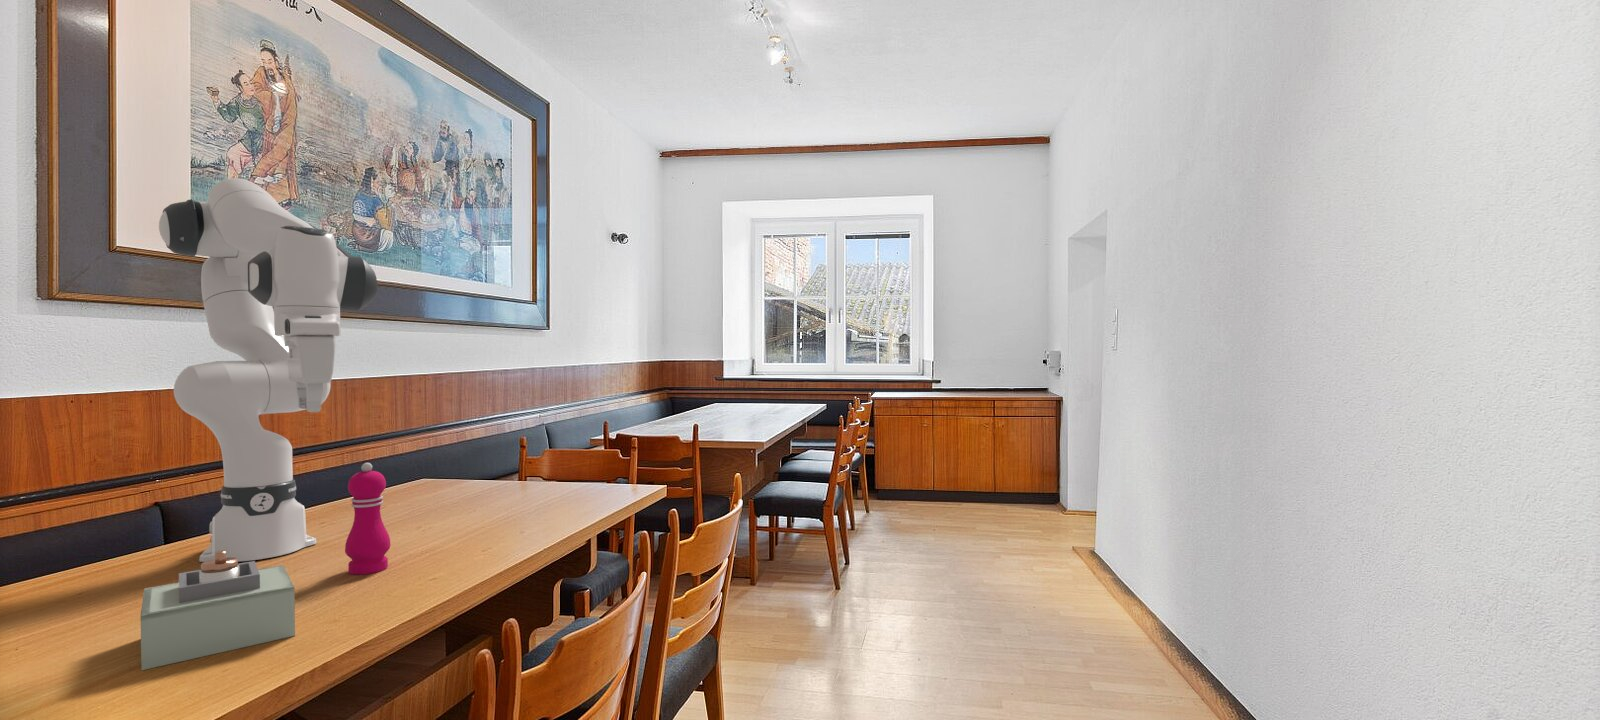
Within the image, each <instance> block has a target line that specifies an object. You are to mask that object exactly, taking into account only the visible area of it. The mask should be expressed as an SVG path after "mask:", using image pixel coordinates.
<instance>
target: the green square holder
mask: <svg viewBox="0 0 1600 720" xmlns="http://www.w3.org/2000/svg"><path fill="white" fill-rule="evenodd" d="M238 565H239V571H240V576H239V577H233V578H228V579H222V580H216V581H210V582H204V583H199V571H200V570H201V569H197V570H191V571H183V572H180V573H178V582H175V583H168V584H162V585H157V586H156V585H155V586H152V587H145V588H144V589H143V594H142V595H143V597H142V603H141V609H140V617H139V618H140V656H141V657H140V659H141V671H145V670H149V669H154V668H158V667H162V666H167V665H172V664H176V663H180V662H184V661H189V660H193V659H197V658H198V659H199V658H203V657H207V656H210V655H211V656H212V655H215V654H220V653H224V652H229V651H234V650H238V649H241V648H242V649H243V648H246V647H250V646H256V645H261V644H265V643H269V642H273V641H277V640H282V639H287V638H291V637H295V636H296V611H295V606H296V605H295V602H296V601H295V585H294V584H293V582H292V581H293V580H292V579H291V578H290V575H289V574H288V572H287V570H286V568H285V565H284V564H280V565H275V566H269V567H262V568H258V566H257V564H256V560H250V561H244V562H241V563H238Z"/></svg>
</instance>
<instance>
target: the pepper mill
mask: <svg viewBox="0 0 1600 720" xmlns="http://www.w3.org/2000/svg"><path fill="white" fill-rule="evenodd" d="M360 468H361V471H359V472H357V473H355V474H354V475H352V476H351V477H350V479H349V480H348V484H347V491H348V492H349V494H350V495H351V496H352V497H353V498H352V499H351V500H350V501H351V505H350V506H351V507H352V508H353V510H354V511H353V512H354V516H353V517H354V518H353V524H352V527H351V529H350V530H349V533H348V535H347V539H346V541H345V546H344V547H345V548H344V553H345V555H346V556H347V557H348V558H349V559H351V560H350V561H349V562H348V564H347V565H348V573H349V574H350V575H353V576H354V575H357V576H358V575H370V574H374V573H375V574H376V573H378V572H382V571H384V570H386V569H387V568H388V567H389V560H388V559H389V558H388V556H386V555H385V554H387V552H389V550H390V548H391V538H390V534H389V532H388V530H387V529H386V527H385V525H384V522H383V520H382V515H381V507H382V504H383V503H384V501H383V498H384V496H383V495H382V493H383V492H384V491H385V489H386V488H387V487H386V486H387V482H386V478H385V476H384V475H383V474H382V473H381V472H379V471H377V470H372V469H373V465H372V464H371V463H370V462H365V463H363V464H362V465H361V467H360Z"/></svg>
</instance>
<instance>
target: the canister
mask: <svg viewBox="0 0 1600 720" xmlns="http://www.w3.org/2000/svg"><path fill="white" fill-rule="evenodd" d="M238 564H239V563H238V559H237V558H235V557H226V551H218V552H215V559H212V560H208V561H205V562H201V563H200V569H199V570H200V571H199V583H204V582H210V581H216V580H222V579H228V578H233V577H239V576H240V571H239V565H238Z"/></svg>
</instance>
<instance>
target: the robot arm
mask: <svg viewBox="0 0 1600 720" xmlns="http://www.w3.org/2000/svg"><path fill="white" fill-rule="evenodd" d="M208 192H209V193H208V194H207V195H208V196H207V201H195V200H193V198H190V199H187V200H186V201H180V202H174V203H170V204H169V205H168V206H166V207H165V208H163V211H162V213H161V215H160V218H159V220H158V230H159V233H160V237H161V239H162V240H163V242H164V243H165V245H166V247H167V249H169V250H170V252H172V253H174V254H177V255H181V256H185V257H186V256H187V257H192V258H193V257H195V256H201V257H208V258H206V259H205V260H204V262H203V263H202V265H201V275H200V276H201V277H200V283H201V284H200V286H201V288H200V289H201V299H202V304H203V308H204V313H205V317H206V320H207V327H208V330H209V336H210V338H211V339H212V340H213V342H214V343H215V344H216V345H217V346H219V347H220V348H222V349H224V350H226V351H229V352H231V353H234V354H236V355H237V356H239V357H240V358H243V359H244V360H216V361H210V362H203V363H199V364H194V365H189V366H187V367H186V368H184V369H183V370H182V371H181V372H180V373H179V374H178V376H177V377H176V378H175V379H176V380H175V382H174V385H173V396H174V400H175V402H176V404H177V405H178V406H179V407H180V409H181V410H182V411H184V412H185V413H186V414H188V415H190V416H192V417H194V418H196V419H197V420H199V421H200V422H201V423H203V425H205V426H206V427H207V428H209V430H210V431H211V432H212V434H213V435H214V436H215V438H216V440H217V441H218V444H219V447H220V450H221V451H220V452H221V458H222V465H223V485H222V486H221V492H220V499H221V500H220V501H221V504H220V505H222V507H221V508H220V510H219V511H218V512H217V513H215V515H214V516H213V517H212V521H211V520H210V523H209V529H208V531H209V534H210V535H212V536H210V539H209V540H210V541H209V542H210V545H209V546H208V547H207V548H206V549H205V550H204V551H203V552H202V553H201V554H200V556H199V559H198V561H199V562H200V563H203V562H205V561H208V560H212V559H215V552H218V551H226V557H235V558H237V559H238V562H251V561H256V560H258V561H259V560H263V559H269V558H274V557H280V556H283V555H288V554H291V553H293V552H296V551H299V550H302V549H303V548H307V547H309V546H313V545H316V544H317V543H318V542H317V538H316V537H313V536H311V535H308V534H307V524H306V523H307V522H306V510H305V509H306V508H305V505H303V504H302V503H301V502H298V501H297V500H296V498H295V497H296V496H297V492H296V491H297V485H296V480H295V479H294V476H293V475H294V474H293V473H294V472H293V470H294V469H293V467H294V466H293V461H294V460H293V446H292V444H291V442H290V440H289V439H287V438H286V437H284V436H283V435H281V434H279V433H276V432H273V431H271V430H268V429H264V427H263V426H262V424H261V422H260V418H259V416H260V415H267V414H268V415H271V414H282V413H283V414H285V413H296V412H300V411H305V410H306V412H309V413H319V412H320V411H322V404H324V402H325V401H326V400H327V399H328V397H329V394H330V392H331V386H332V385H331V381H332V378H333V374H334V368H335V366H334V365H335V353H336V337H340V336H341V312H351V313H358V312H360V311H361V310H362V309H364V308H366V307H367V306H368V305H369V304H370V303H371V302H372V301H373V300H374V299H376V296H377V293H378V292H377V291H378V280H377V275H376V272H375V271H374V269H373V268H372V266H370V264H369V263H368V262H367V261H366V260H365V259H364V258H362V257H361V256H356V255H355V256H354V255H352V254H351V253H349V252H348V251H347V250H345V248H343V247H342V246H341V245H339V243H337V242H336V238H335V237H334V234H333V233H331V232H329V231H327V230H325V229H321V228H317V227H316V226H314V225H312V224H310V223H308V222H306V221H304V220H303V219H301V218H300V217H297V216H295V214H293V213H291V212H290V211H288V210H287V209H286V208H284V207H283V206H281V205H280V203H278V201H277V200H276V199H275V198H274V197H273V196H272V195H271V194H270V193H269V192H268V191H267V190H265V189H264V188H263V187H261V186H260V185H258V184H256V183H255V182H252V181H251V180H247V179H244V178H238V177H234V178H233V177H232V178H225V179H222V180H220V181H218V182H217V183H215V184H214V185H212V187H211V189H210V190H209V191H208Z"/></svg>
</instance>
